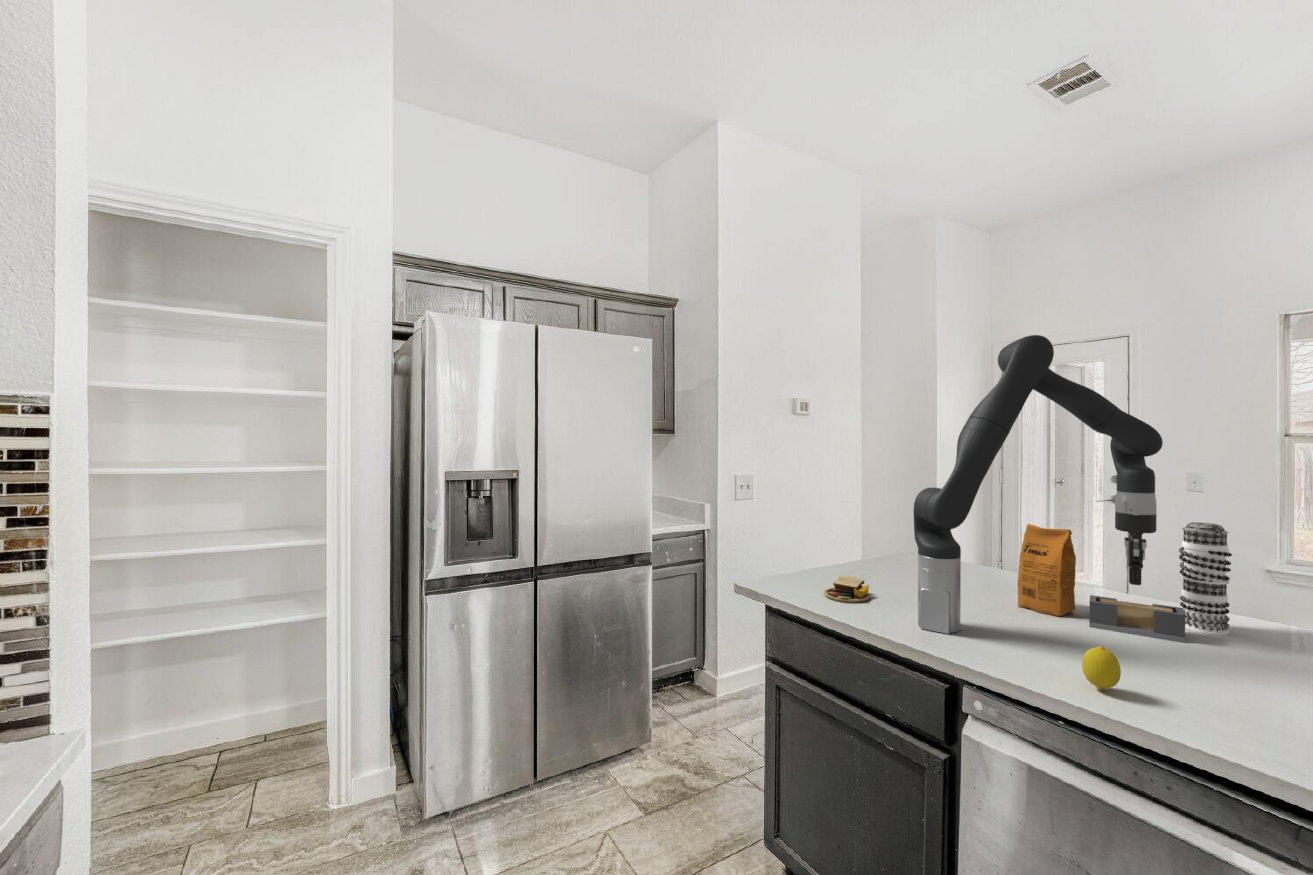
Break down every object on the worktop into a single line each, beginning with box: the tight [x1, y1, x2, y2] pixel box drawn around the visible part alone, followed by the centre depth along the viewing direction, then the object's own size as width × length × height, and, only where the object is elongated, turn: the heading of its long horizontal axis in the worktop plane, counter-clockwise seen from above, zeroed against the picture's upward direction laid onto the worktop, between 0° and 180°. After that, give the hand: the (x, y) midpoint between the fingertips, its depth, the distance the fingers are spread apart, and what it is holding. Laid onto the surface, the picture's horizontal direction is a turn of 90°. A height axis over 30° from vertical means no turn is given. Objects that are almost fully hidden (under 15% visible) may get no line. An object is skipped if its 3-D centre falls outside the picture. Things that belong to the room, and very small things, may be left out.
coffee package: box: [1017, 523, 1077, 617], centre depth 152 cm, size 10×12×22 cm
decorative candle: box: [1178, 522, 1233, 636], centre depth 136 cm, size 9×9×25 cm
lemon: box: [1081, 645, 1122, 691], centre depth 104 cm, size 6×6×8 cm
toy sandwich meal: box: [823, 574, 871, 604], centre depth 164 cm, size 12×14×5 cm
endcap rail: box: [1088, 594, 1186, 644], centre depth 136 cm, size 8×17×6 cm, turn 52°
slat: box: [1100, 598, 1173, 630], centre depth 136 cm, size 3×13×5 cm, turn 52°
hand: (1135, 584), depth 136 cm, fingers closed
